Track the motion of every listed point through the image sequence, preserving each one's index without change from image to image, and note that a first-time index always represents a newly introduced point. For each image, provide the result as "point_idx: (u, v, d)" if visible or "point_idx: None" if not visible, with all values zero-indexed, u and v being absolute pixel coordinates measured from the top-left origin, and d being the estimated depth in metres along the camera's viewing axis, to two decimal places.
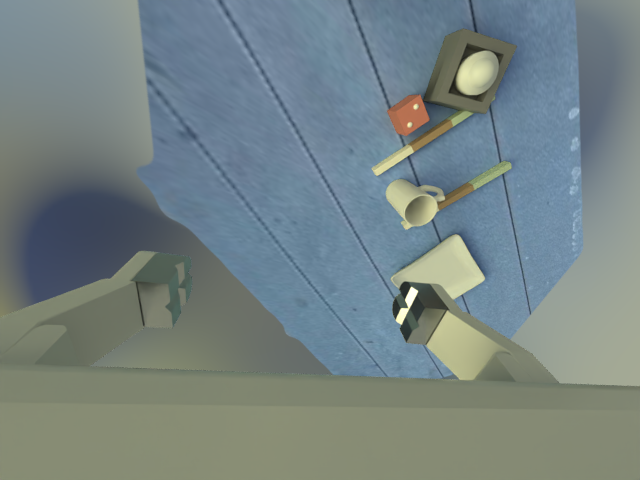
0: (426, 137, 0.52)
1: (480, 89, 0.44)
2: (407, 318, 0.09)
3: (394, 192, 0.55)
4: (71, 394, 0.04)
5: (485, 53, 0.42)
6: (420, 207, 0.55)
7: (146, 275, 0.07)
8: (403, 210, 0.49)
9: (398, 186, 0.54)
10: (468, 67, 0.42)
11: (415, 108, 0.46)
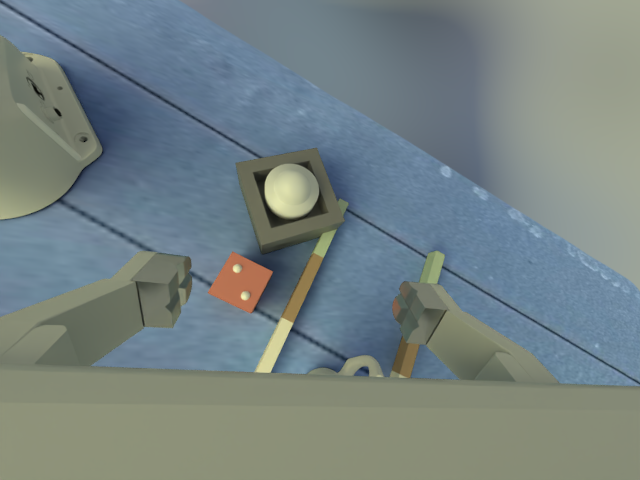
0: (296, 292, 0.31)
1: (309, 202, 0.29)
2: (407, 318, 0.09)
3: None
4: (71, 394, 0.04)
5: (280, 168, 0.30)
6: None
7: (146, 275, 0.07)
8: None
9: None
10: (270, 190, 0.29)
11: (237, 271, 0.27)
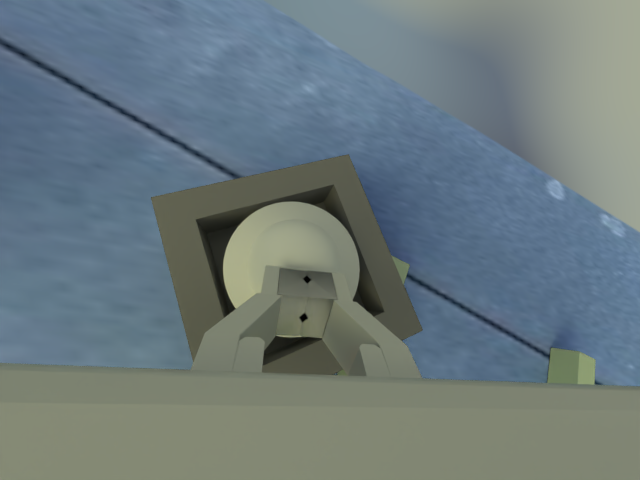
0: None
1: None
2: None
3: None
4: (71, 394, 0.04)
5: (265, 214, 0.12)
6: None
7: (287, 289, 0.08)
8: None
9: None
10: (238, 275, 0.11)
11: None
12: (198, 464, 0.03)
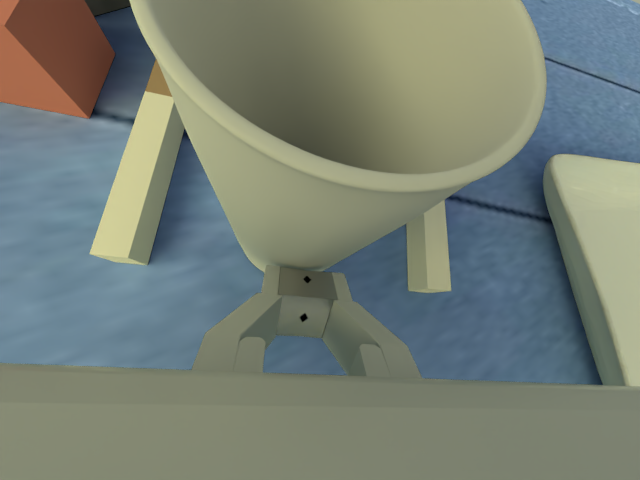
0: None
1: None
2: None
3: None
4: (71, 394, 0.04)
5: None
6: (380, 148, 0.10)
7: (287, 289, 0.08)
8: (220, 138, 0.03)
9: None
10: None
11: None
12: (198, 464, 0.03)
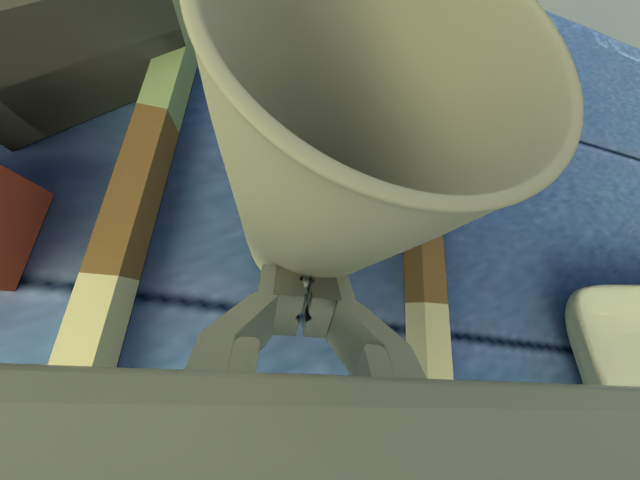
0: (110, 200, 0.12)
1: None
2: (306, 310, 0.09)
3: None
4: (71, 394, 0.04)
5: None
6: (405, 180, 0.10)
7: (283, 289, 0.08)
8: (220, 104, 0.03)
9: None
10: None
11: None
12: (198, 464, 0.03)
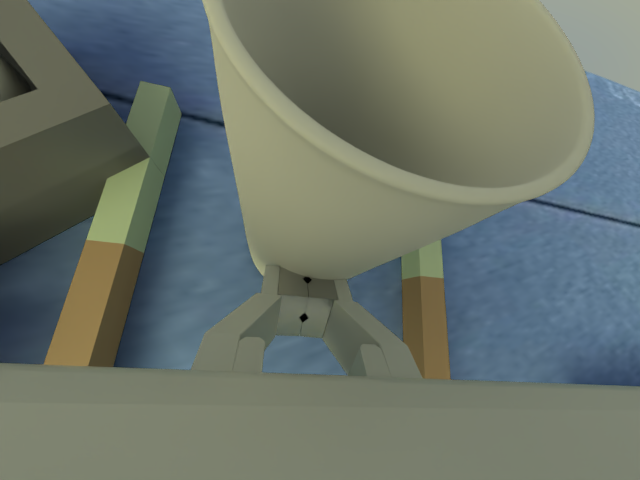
0: None
1: None
2: None
3: None
4: (71, 394, 0.04)
5: None
6: None
7: (287, 289, 0.08)
8: (232, 84, 0.03)
9: None
10: None
11: None
12: (198, 464, 0.03)
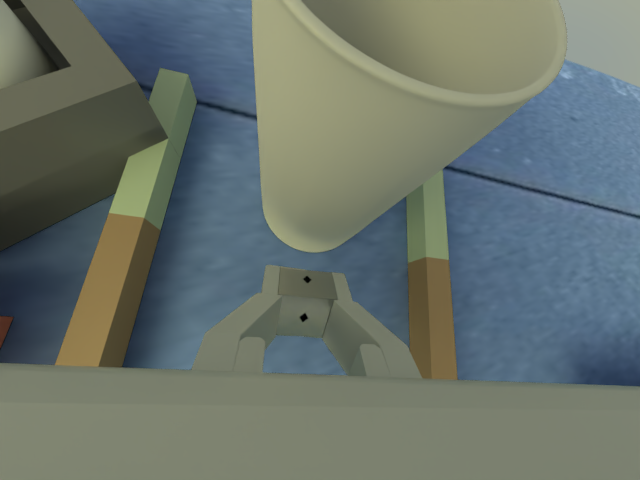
0: (71, 340, 0.10)
1: None
2: None
3: None
4: (71, 394, 0.04)
5: None
6: None
7: (287, 289, 0.08)
8: (270, 10, 0.04)
9: None
10: None
11: None
12: (198, 464, 0.03)
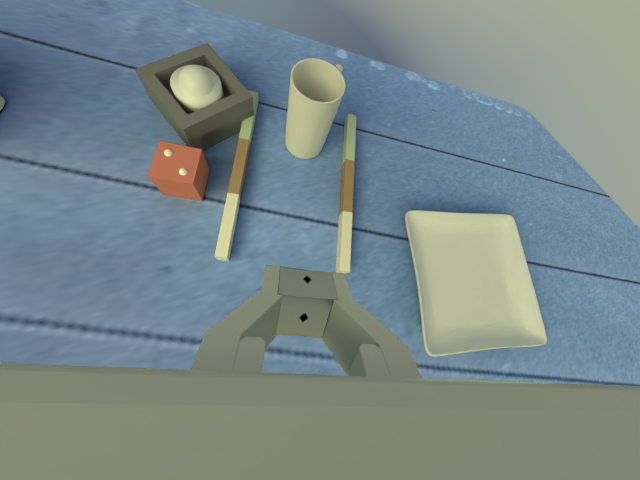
0: (234, 171, 0.35)
1: (214, 91, 0.34)
2: None
3: None
4: (71, 394, 0.04)
5: (180, 70, 0.34)
6: None
7: (287, 289, 0.08)
8: (294, 90, 0.29)
9: None
10: (177, 88, 0.33)
11: (168, 154, 0.31)
12: (198, 464, 0.03)
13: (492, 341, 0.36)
